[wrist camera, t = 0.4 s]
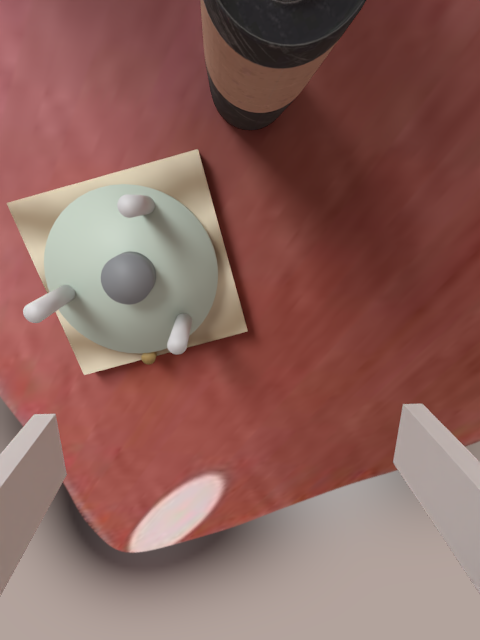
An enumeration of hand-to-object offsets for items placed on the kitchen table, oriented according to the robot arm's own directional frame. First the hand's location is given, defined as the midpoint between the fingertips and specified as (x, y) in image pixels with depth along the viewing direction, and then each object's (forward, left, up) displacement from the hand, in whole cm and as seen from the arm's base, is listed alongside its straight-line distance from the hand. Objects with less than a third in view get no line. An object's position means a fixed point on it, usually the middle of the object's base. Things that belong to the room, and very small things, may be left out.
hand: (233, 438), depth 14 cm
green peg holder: (-4, -8, -24) cm, 25 cm away
